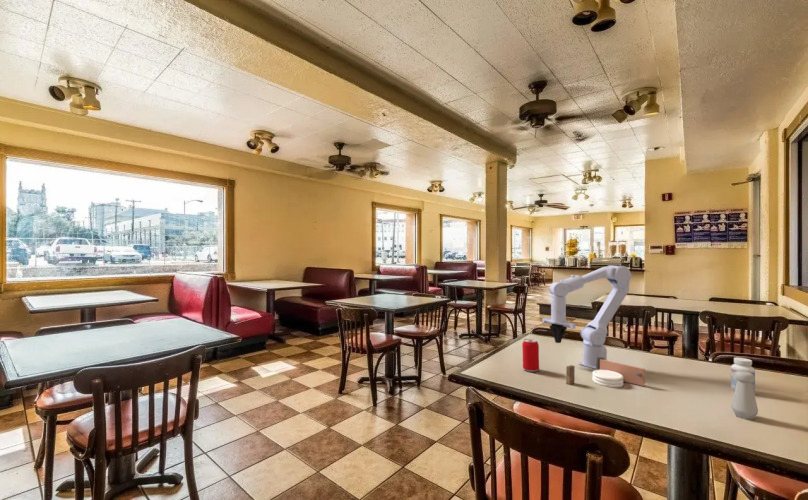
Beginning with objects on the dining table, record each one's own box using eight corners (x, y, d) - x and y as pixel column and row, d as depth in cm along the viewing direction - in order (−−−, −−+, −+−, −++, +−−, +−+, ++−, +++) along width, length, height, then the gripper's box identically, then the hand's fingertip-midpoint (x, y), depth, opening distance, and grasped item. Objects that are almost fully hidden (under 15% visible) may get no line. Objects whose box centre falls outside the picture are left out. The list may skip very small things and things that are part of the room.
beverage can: (538, 368, 146) (538, 339, 146) (539, 373, 140) (539, 342, 140) (522, 367, 148) (522, 338, 148) (522, 371, 142) (522, 341, 142)
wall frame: (600, 373, 141) (601, 356, 141) (603, 374, 140) (604, 356, 140) (566, 383, 130) (566, 365, 130) (569, 384, 129) (569, 365, 129)
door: (598, 376, 137) (598, 360, 137) (600, 374, 139) (600, 359, 139) (642, 386, 126) (642, 370, 126) (644, 385, 128) (644, 368, 128)
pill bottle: (748, 389, 126) (748, 357, 126) (759, 396, 120) (759, 362, 120) (727, 387, 128) (727, 355, 128) (736, 393, 122) (736, 360, 122)
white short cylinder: (627, 389, 125) (627, 379, 125) (595, 386, 128) (595, 376, 128) (619, 379, 135) (619, 370, 135) (589, 377, 138) (589, 367, 138)
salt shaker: (725, 412, 107) (725, 369, 107) (742, 411, 108) (743, 368, 108) (745, 421, 102) (745, 376, 102) (764, 421, 102) (764, 375, 102)
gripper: (537, 308, 156) (537, 339, 156) (568, 314, 143) (567, 347, 143) (548, 307, 159) (547, 338, 159) (578, 312, 147) (578, 345, 147)
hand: (558, 342), depth 152 cm, fingers closed
